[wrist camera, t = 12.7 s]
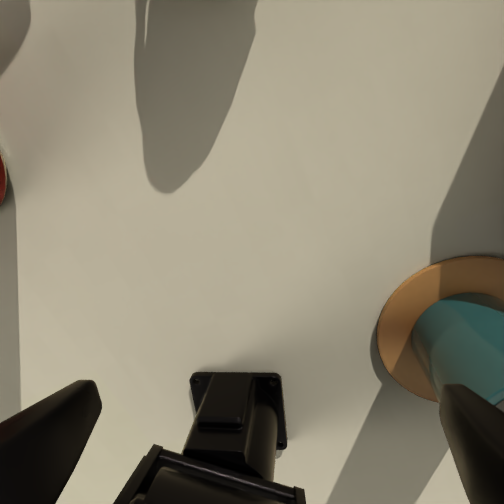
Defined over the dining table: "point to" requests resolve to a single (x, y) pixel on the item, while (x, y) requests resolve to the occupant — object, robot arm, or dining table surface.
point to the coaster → (418, 300)
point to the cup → (463, 344)
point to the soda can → (2, 178)
